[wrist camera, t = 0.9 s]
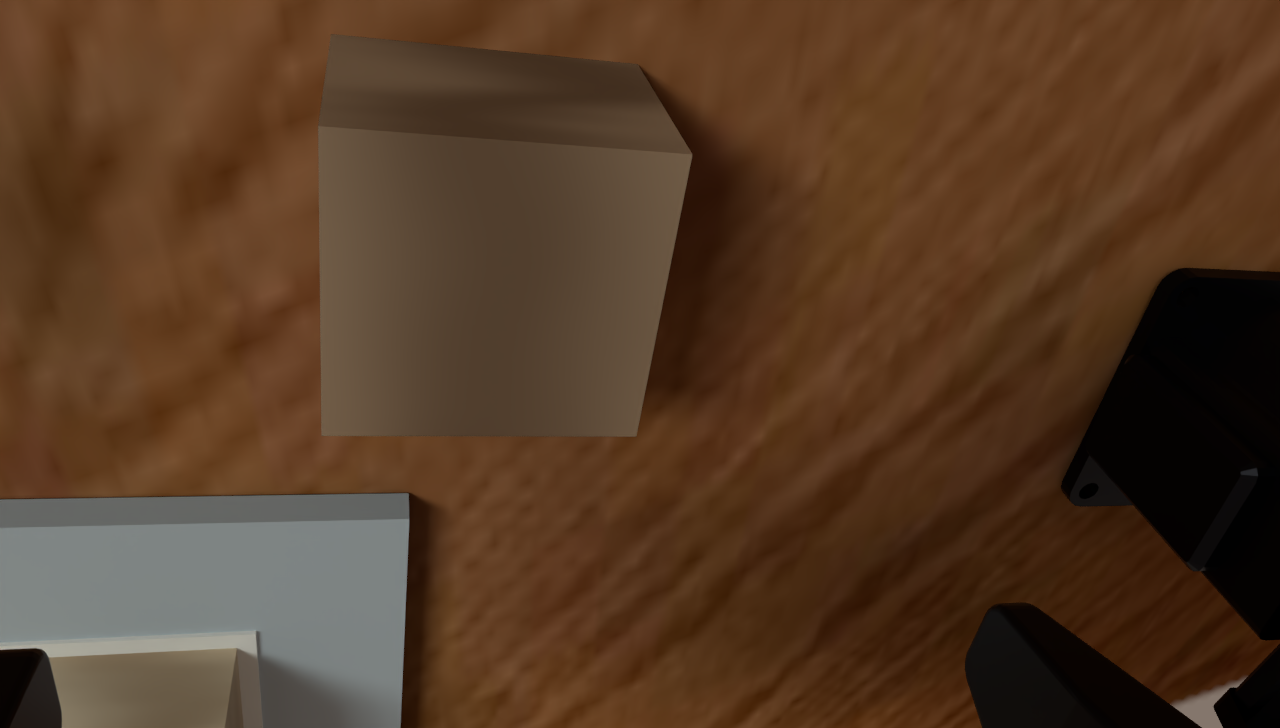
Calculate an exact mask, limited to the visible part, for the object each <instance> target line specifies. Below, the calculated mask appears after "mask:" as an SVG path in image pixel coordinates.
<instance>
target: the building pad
mask: <svg viewBox="0 0 1280 728" xmlns="http://www.w3.org/2000/svg"><path fill="white" fill-rule="evenodd" d="M408 540H409V493H389V494H324V495H260V496H196V497H132V498H67V499H3V500H0V650H5V649H27V648H37V649H42V650H44V651H45V652H46V654H47V655H48V657H69V656H89V655H109V654H128V653H148V652H168V651H188V650H207V649H227V648H237V657H238V669H239V680H240V691H241V703H242V714H243V726H244V728H401V705H402V682H403V658H404V634H405V611H406V587H407V564H408Z"/></svg>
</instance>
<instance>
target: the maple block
mask: <svg viewBox="0 0 1280 728" xmlns="http://www.w3.org/2000/svg"><path fill="white" fill-rule="evenodd" d="M49 660H50V664H51V668H52V672H53V676H54V680H55V685H56V689H57V693H58V697H59V701H60V706H61V711H62V728H244V726H243V714H242V703H241V691H240V680H239V669H238V657H237V648H227V649H207V650H188V651H168V652H148V653H128V654H109V655H89V656H69V657H49Z"/></svg>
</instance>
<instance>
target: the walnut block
mask: <svg viewBox="0 0 1280 728" xmlns="http://www.w3.org/2000/svg"><path fill="white" fill-rule="evenodd" d="M318 153H319V244H320V335H321V426H322V436H621V437H636V436H637V431H638V425H639V420H640V415H641V410H642V405H643V400H644V395H645V390H646V385H647V380H648V375H649V370H650V365H651V360H652V355H653V350H654V345H655V340H656V335H657V330H658V325H659V320H660V315H661V310H662V305H663V300H664V295H665V290H666V285H667V280H668V275H669V270H670V265H671V260H672V255H673V250H674V245H675V240H676V235H677V230H678V225H679V220H680V215H681V210H682V205H683V200H684V195H685V190H686V185H687V180H688V175H689V170H690V165H691V160H692V155H693V154H692V153H691V151H690V149H689V148H688V146H687V145H686V143H685V141H684V140H683V138H682V136H681V135H680V133H679V131H678V130H677V128H676V126H675V125H674V123H673V121H672V120H671V118H670V117H669V115H668V113H667V112H666V110H665V108H664V107H663V105H662V103H661V102H660V100H659V98H658V97H657V95H656V94H655V92H654V90H653V89H652V87H651V85H650V84H649V82H648V80H647V79H646V77H645V75H644V74H643V72H642V70H641V69H640V67H639V66H638V64H630V63H620V62H610V61H599V60H589V59H579V58H569V57H559V56H549V55H538V54H528V53H518V52H508V51H498V50H488V49H477V48H467V47H457V46H447V45H437V44H427V43H416V42H406V41H396V40H386V39H376V38H366V37H355V36H345V35H335V34H331V39H330V46H329V53H328V60H327V67H326V74H325V81H324V88H323V96H322V103H321V110H320V117H319V124H318Z"/></svg>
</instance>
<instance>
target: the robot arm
mask: <svg viewBox="0 0 1280 728" xmlns="http://www.w3.org/2000/svg"><path fill="white" fill-rule="evenodd" d="M1185 289H1186V290H1185ZM1184 290H1185V291H1184ZM1182 291H1184V292H1183V293H1182V294H1181V292H1182ZM1180 294H1181V295H1180ZM1061 489H1062V492H1063V493H1064V494H1065V496H1066V497H1067V498H1068V499H1069V500H1070V502H1071V503H1073V504H1074V505H1075V506H1122V505H1133V506H1134V507H1135V508H1136V509H1137V510H1138V511H1139V512H1140V514H1141V515H1142V516H1143V517H1144V518H1145V519H1146V520H1147V522H1148V523H1149V524H1150V525H1151V526H1152V527H1153V528H1154V530H1155V531H1156V532H1157V533H1158V534H1159V535H1160V536H1161V537H1162V539H1163V540H1164V541H1165V542H1166V543H1167V544H1168V545H1169V547H1170V548H1171V549H1172V550H1173V551H1174V552H1175V553H1176V555H1177V556H1178V557H1179V558H1180V559H1181V560H1182V561H1183V563H1184V564H1185V565H1186V566H1187V567H1188V568H1189V569H1191V570H1192V571H1201V572H1202V574H1203V575H1204V576H1205V577H1206V578H1207V579H1208V580H1209V581H1210V583H1211V584H1212V585H1213V586H1214V587H1215V588H1216V589H1217V590H1218V592H1219V593H1220V594H1221V595H1222V596H1223V597H1224V598H1225V600H1226V601H1227V602H1228V603H1229V604H1230V605H1231V606H1232V607H1233V609H1234V610H1235V611H1236V612H1237V613H1238V614H1239V615H1240V616H1241V618H1242V619H1243V620H1244V621H1245V622H1246V623H1247V624H1248V625H1249V627H1250V628H1251V629H1252V630H1253V631H1254V632H1255V633H1256V634H1257V636H1258V637H1259V638H1260V639H1262V640H1279V639H1280V272H1262V271H1241V270H1220V269H1199V268H1183V269H1178V270H1176V271H1174V272H1172V273H1170V274H1169V275H1167V276H1166V277H1165V278H1164V279H1163V280H1162V281H1161V283H1160V284H1159V286H1158V287H1157V289H1156V291H1155V293H1154V295H1153V297H1152V299H1151V301H1150V303H1149V305H1148V307H1147V309H1146V311H1145V313H1144V316H1143V318H1142V320H1141V322H1140V324H1139V326H1138V328H1137V330H1136V332H1135V334H1134V336H1133V338H1132V340H1131V342H1130V344H1129V346H1128V348H1127V350H1126V352H1125V354H1124V356H1123V358H1122V360H1121V362H1120V364H1119V367H1118V369H1117V371H1116V373H1115V375H1114V377H1113V379H1112V381H1111V383H1110V385H1109V387H1108V389H1107V391H1106V393H1105V395H1104V397H1103V399H1102V401H1101V403H1100V405H1099V407H1098V409H1097V411H1096V413H1095V415H1094V417H1093V420H1092V422H1091V424H1090V426H1089V428H1088V430H1087V432H1086V434H1085V436H1084V438H1083V440H1082V442H1081V444H1080V446H1079V448H1078V450H1077V452H1076V454H1075V456H1074V458H1073V460H1072V462H1071V464H1070V466H1069V468H1068V471H1067V473H1066V475H1065V477H1064V479H1063V481H1062V485H1061ZM965 672H966V678H967V682H968V685H969V688H970V691H971V694H972V697H973V700H974V703H975V707H976V710H977V713H978V716H979V719H980V722H981V725H982V728H1202V727H1200V726H1199V725H1197V724H1196V723H1194V722H1193V721H1192V720H1190V719H1189V718H1188V717H1186V716H1185V715H1184V714H1182V713H1181V712H1180V711H1178V710H1177V709H1176V708H1174V707H1173V706H1171V705H1170V704H1169V703H1167V702H1166V701H1165V700H1163V699H1162V698H1160V697H1159V696H1158V695H1156V694H1155V693H1154V692H1152V691H1151V690H1149V689H1148V688H1147V687H1145V686H1144V685H1143V684H1141V683H1140V682H1139V681H1137V680H1136V679H1134V678H1133V677H1132V676H1130V675H1129V674H1128V673H1126V672H1125V671H1123V670H1122V669H1121V668H1119V667H1118V666H1117V665H1115V664H1114V663H1112V662H1111V661H1110V660H1108V659H1107V658H1106V657H1104V656H1103V655H1102V654H1100V653H1099V652H1097V651H1096V650H1095V649H1093V648H1092V647H1091V646H1089V645H1088V644H1086V643H1085V642H1084V641H1082V640H1081V639H1080V638H1078V637H1077V636H1075V635H1074V634H1073V633H1071V632H1070V631H1069V630H1067V629H1066V628H1065V627H1063V626H1062V625H1060V624H1059V623H1058V622H1056V621H1055V620H1054V619H1052V618H1051V617H1049V616H1048V615H1047V614H1045V613H1044V612H1043V611H1041V610H1040V609H1038V608H1037V607H1035V606H1034V605H1031V604H1028V603H1003V604H996V605H993V606H992V607H991V608H989V609H988V611H987V612H986V614H985V616H984V618H983V621H982V623H981V625H980V627H979V629H978V631H977V633H976V635H975V637H974V639H973V642H972V644H971V646H970V648H969V650H968V652H967V655H966V660H965ZM1214 710H1215V712H1216V714H1217V716H1218V718H1219V720H1220V722H1221V724H1222V726H1223V728H1280V644H1279V645H1278V646H1277V647H1276V648H1275V649H1274V650H1273V651H1272V652H1271V653H1270V654H1269V655H1268V656H1267V657H1266V659H1265V660H1264V661H1263V662H1262V663H1261V664H1260V665H1259V666H1258V667H1257V668H1256V669H1255V670H1254V671H1253V672H1252V673H1251V674H1250V675H1249V676H1248V677H1247V678H1246V679H1245V680H1244V681H1243V682H1242V683H1241V684H1240V685H1239V686H1238V687H1237V688H1230V689H1229V690H1228V691H1227V692H1226V693H1225V694H1224V695H1223V696H1222V697H1221V698H1220V699H1219V700H1218V701H1217V702H1216V703H1215V704H1214ZM0 728H62V711H61V706H60V701H59V697H58V693H57V689H56V685H55V680H54V676H53V672H52V668H51V664H50V660H49V657H48V655H47V654H46V652H45V651H44V650H42V649H37V648H27V649H5V650H0Z"/></svg>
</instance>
